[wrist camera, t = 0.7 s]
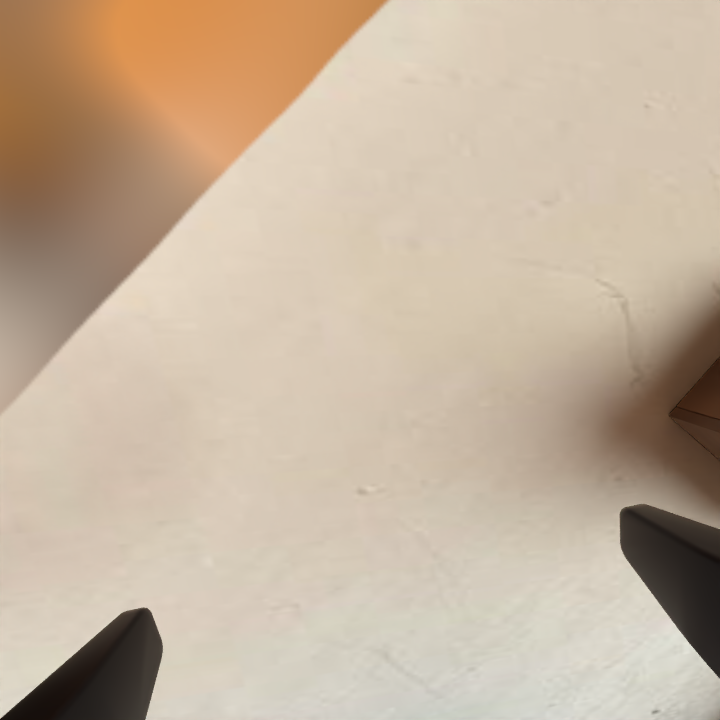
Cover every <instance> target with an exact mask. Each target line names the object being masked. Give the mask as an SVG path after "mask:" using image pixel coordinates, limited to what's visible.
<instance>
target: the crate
mask: <svg viewBox="0 0 720 720" xmlns="http://www.w3.org/2000/svg"><path fill="white" fill-rule="evenodd" d="M669 416H670V417H671V418H672V419H673V420H674V421H675V422H677V423H678V424H679V425H680V426H681V427H682V428H683V429H685V430H686V431H687V432H688V433H689V434H690V435H691V436H693V437H694V438H695V439H696V440H697V441H698V442H699V443H701V444H702V445H703V446H704V447H705V448H706V449H707V450H709V451H710V452H711V453H712V454H713V455H714V456H715V457H717V458H718V459H719V460H720V357H719V359H718V360H717V361H716V362H715V363H714V364H713V365H712V367H711V368H710V369H709V370H708V371H707V372H706V373H705V374H704V376H703V377H702V378H701V379H700V380H699V381H698V382H697V383H696V385H695V386H694V387H693V388H692V389H691V390H690V391H689V392H688V394H687V395H686V396H685V397H684V398H683V399H682V400H681V401H680V403H679V404H678V405H677V406H676V408H675V409H674V410H673V411H672V412H671V413H670V414H669Z"/></svg>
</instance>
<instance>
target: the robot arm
mask: <svg viewBox="0 0 720 720" xmlns="http://www.w3.org/2000/svg"><path fill="white" fill-rule="evenodd" d="M620 544H621V548H622V551H623V554H624V555H625V557H626V559H627V560H628V562H629V563H630V564H631V566H632V567H633V568H634V570H635V571H636V572H637V574H638V575H639V576H640V578H641V579H642V581H643V582H644V583H645V585H646V586H647V587H648V589H649V590H650V591H651V593H652V594H653V595H654V597H655V598H656V599H657V601H658V602H659V603H660V605H661V606H662V608H663V609H664V610H665V612H666V613H667V614H668V616H669V617H670V618H671V620H672V621H673V622H674V624H675V625H676V626H677V628H678V629H679V630H680V632H681V633H682V634H683V635H684V637H685V638H686V639H687V641H688V642H689V643H690V644H691V646H692V647H693V648H694V649H695V650H696V652H697V653H698V654H699V655H700V656H701V658H702V659H703V660H704V661H705V662H706V663H707V665H708V666H709V667H710V668H711V669H712V670H713V671H714V673H715V674H716V675H717V676H718V677H719V678H720V529H717V528H714V527H711V526H708V525H705V524H702V523H699V522H696V521H693V520H691V519H688V518H685V517H682V516H679V515H676V514H673V513H670V512H667V511H664V510H661V509H658V508H655V507H652V506H649V505H646V504H639V505H634V506H629V507H625V508H623V509H622V510H621V512H620ZM162 652H163V645H162V640H161V637H160V634H159V632H158V629H157V626H156V624H155V621H154V618H153V616H152V613H151V611H150V610H149V609H148V608H139V609H134V610H129V611H126V612H123V613H121V614H120V615H119V616H118V617H117V618H116V619H114V620H113V621H112V622H111V623H110V624H109V625H107V626H106V627H105V628H104V629H103V630H102V631H101V632H99V633H98V634H97V635H96V636H95V637H94V638H93V639H91V640H90V641H89V642H88V643H87V644H86V645H84V646H83V647H82V648H81V649H80V650H79V651H78V652H76V653H75V654H74V655H73V656H72V657H71V658H70V659H68V660H67V661H66V662H65V663H64V664H63V665H62V666H60V667H59V668H58V669H57V670H56V671H55V672H53V673H52V674H51V675H50V676H49V677H48V678H47V679H45V680H44V681H43V682H42V683H41V684H40V685H39V686H37V687H36V688H35V689H34V690H33V691H32V692H31V693H29V694H28V695H27V696H26V697H25V698H24V699H22V700H21V701H20V702H19V703H18V704H17V705H16V706H14V707H13V708H12V709H11V710H10V711H9V712H8V713H6V714H5V715H4V716H3V717H2V718H1V719H0V720H145V719H146V715H147V712H148V708H149V704H150V700H151V696H152V693H153V689H154V685H155V681H156V677H157V674H158V670H159V666H160V662H161V658H162Z"/></svg>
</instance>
